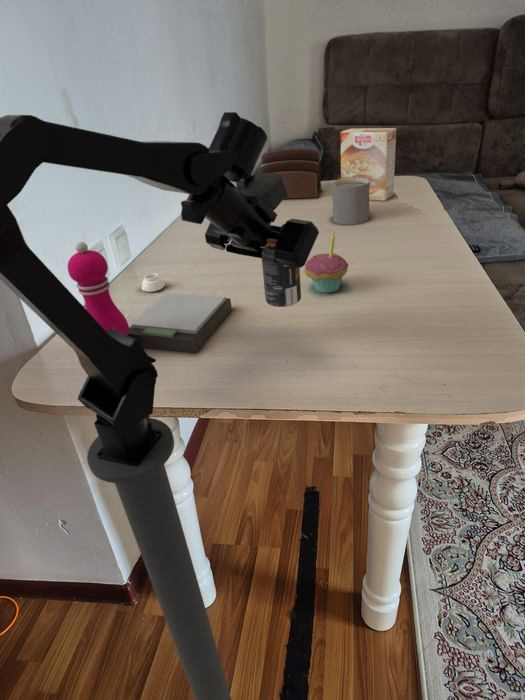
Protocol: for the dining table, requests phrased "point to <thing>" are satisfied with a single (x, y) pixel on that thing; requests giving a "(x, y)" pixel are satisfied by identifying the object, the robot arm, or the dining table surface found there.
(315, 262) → the cupcake
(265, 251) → the pill bottle
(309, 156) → the letter holder
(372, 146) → the coffeecake box
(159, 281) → the white jar
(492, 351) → the dining table surface
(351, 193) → the coffee mug
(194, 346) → the scale
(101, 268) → the pepper mill
